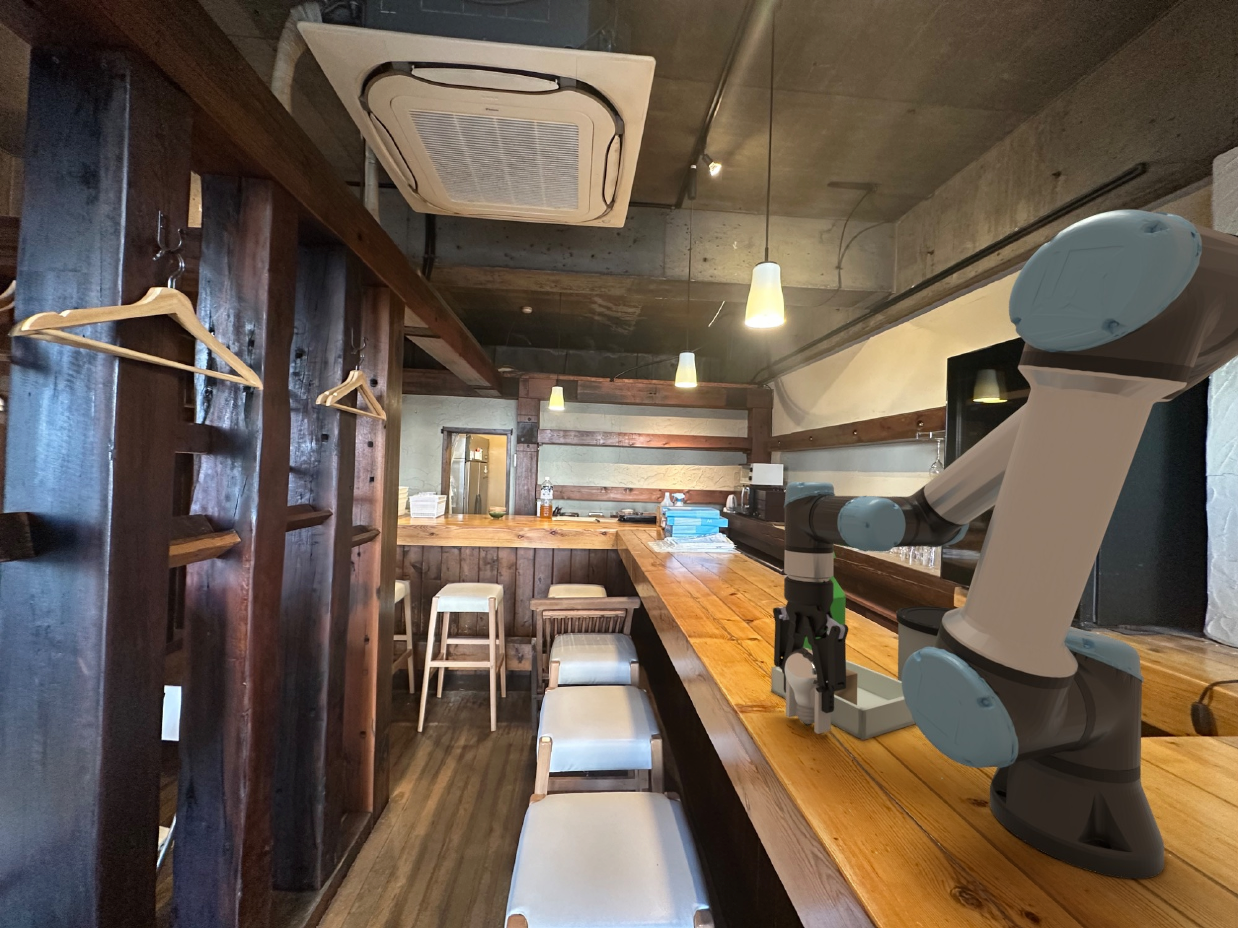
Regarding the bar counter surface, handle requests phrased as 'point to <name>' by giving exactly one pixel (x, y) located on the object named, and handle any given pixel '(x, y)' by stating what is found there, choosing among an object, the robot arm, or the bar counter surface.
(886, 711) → the tray
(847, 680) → the walnut block
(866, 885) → the bar counter surface
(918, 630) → the container
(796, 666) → the light bulb
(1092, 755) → the robot arm
